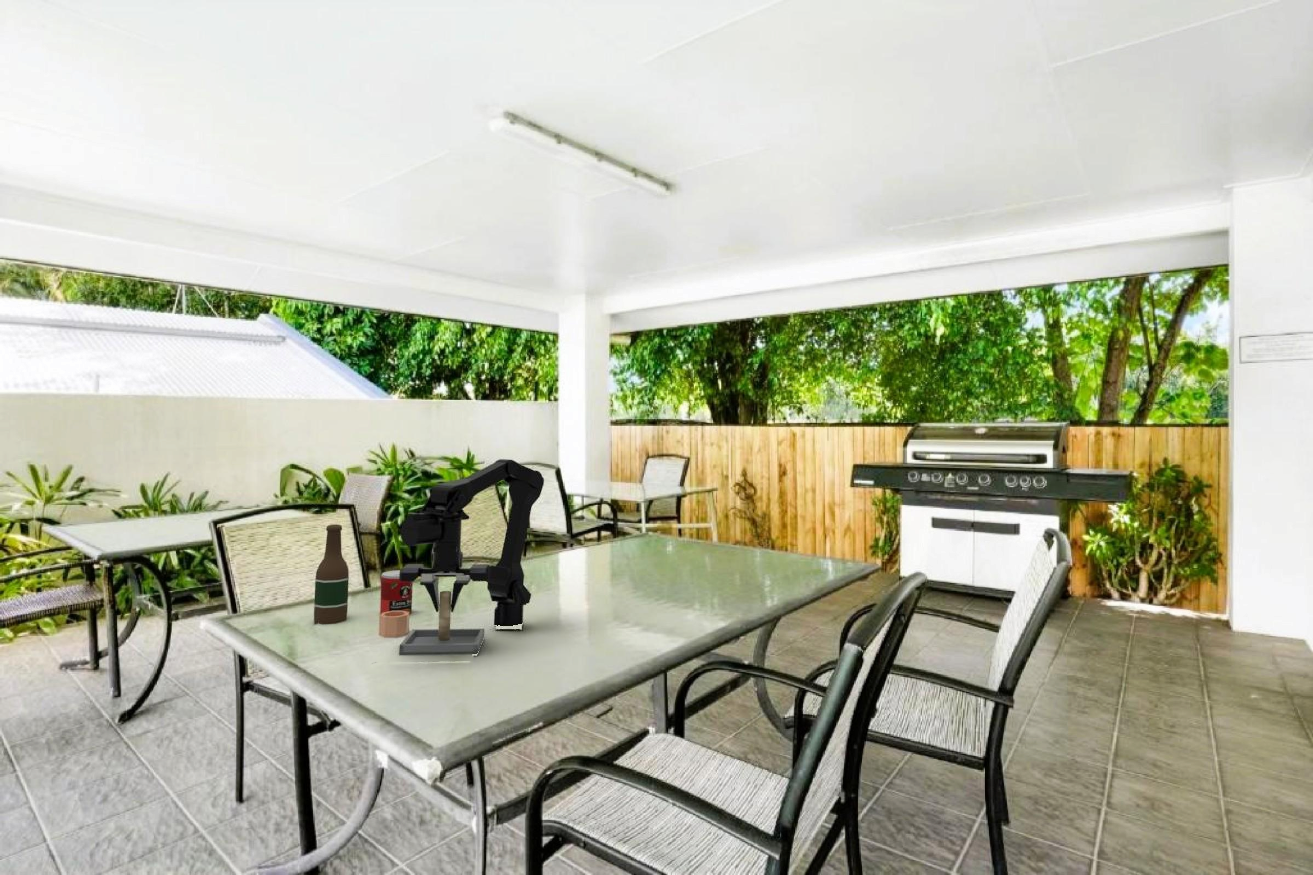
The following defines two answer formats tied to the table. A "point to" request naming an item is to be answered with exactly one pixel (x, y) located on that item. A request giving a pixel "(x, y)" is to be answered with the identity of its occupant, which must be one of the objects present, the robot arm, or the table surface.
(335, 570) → the beer bottle
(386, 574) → the canned food
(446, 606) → the dowel pin
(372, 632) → the table surface
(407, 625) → the cup
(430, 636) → the tray
